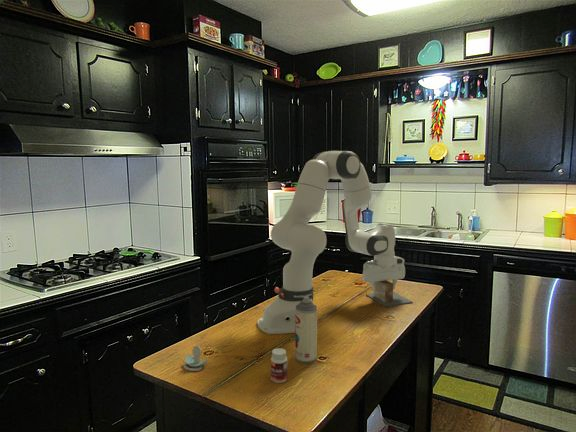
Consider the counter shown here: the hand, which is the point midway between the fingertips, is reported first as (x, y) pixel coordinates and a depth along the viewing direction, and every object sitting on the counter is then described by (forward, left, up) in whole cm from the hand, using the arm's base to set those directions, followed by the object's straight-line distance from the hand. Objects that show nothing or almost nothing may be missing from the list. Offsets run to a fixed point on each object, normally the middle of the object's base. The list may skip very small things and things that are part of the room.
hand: (383, 289), depth 186 cm
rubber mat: (+3, 0, -5) cm, 6 cm away
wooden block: (0, 0, -4) cm, 4 cm away
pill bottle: (-66, -49, -5) cm, 82 cm away
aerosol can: (-54, -40, -5) cm, 67 cm away
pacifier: (-88, -33, -5) cm, 94 cm away
